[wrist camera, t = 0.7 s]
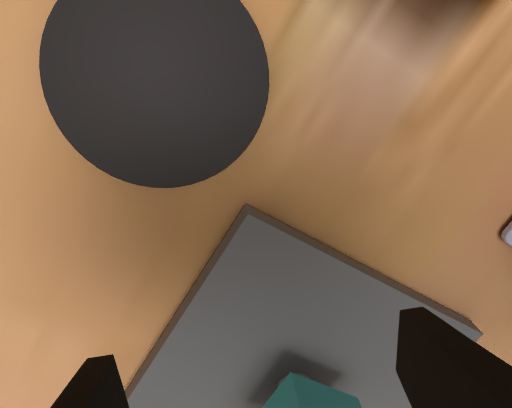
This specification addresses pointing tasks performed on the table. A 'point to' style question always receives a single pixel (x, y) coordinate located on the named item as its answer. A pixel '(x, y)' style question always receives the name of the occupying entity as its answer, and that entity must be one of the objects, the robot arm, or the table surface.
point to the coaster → (155, 85)
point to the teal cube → (309, 395)
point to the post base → (281, 325)
